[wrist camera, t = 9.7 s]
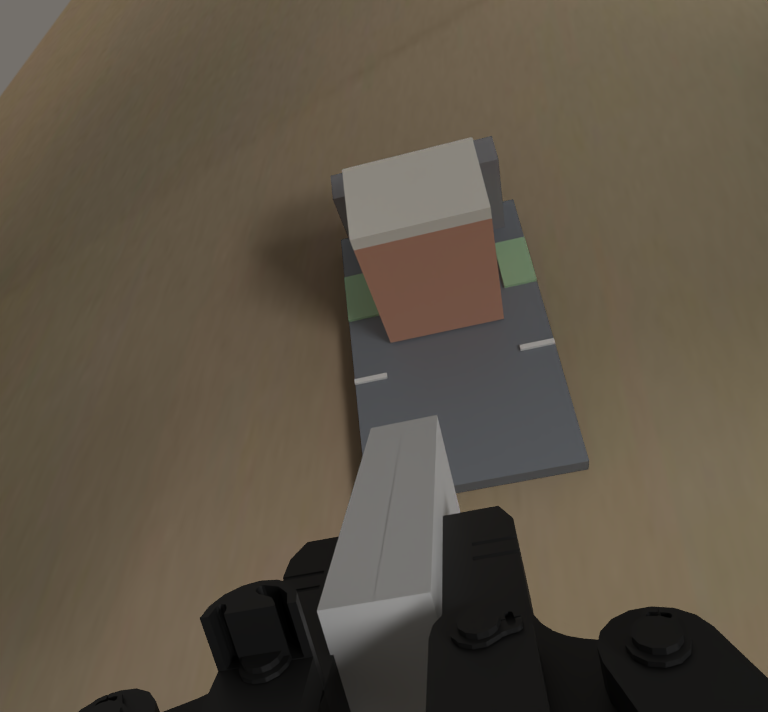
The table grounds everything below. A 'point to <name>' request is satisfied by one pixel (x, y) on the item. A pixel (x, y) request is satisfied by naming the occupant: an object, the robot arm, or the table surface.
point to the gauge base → (472, 367)
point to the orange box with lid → (425, 239)
